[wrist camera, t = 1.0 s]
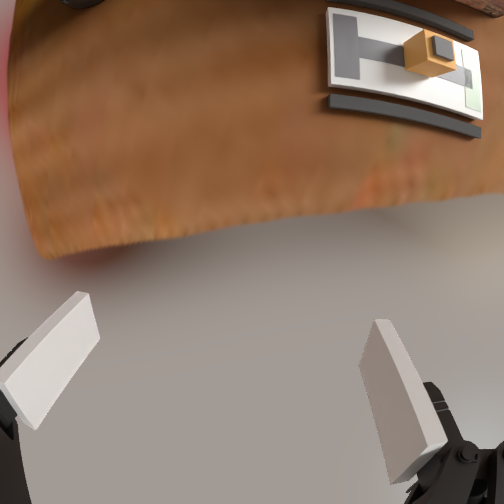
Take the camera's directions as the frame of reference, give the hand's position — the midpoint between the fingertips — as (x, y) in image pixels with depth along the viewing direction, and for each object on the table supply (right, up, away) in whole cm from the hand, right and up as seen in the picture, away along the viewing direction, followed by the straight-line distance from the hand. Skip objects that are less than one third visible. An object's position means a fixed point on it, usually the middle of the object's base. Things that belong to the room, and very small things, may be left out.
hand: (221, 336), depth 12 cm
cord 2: (+22, +21, +18) cm, 35 cm away
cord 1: (+22, +36, +12) cm, 44 cm away
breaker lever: (+22, +27, +13) cm, 37 cm away
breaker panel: (+22, +28, +15) cm, 39 cm away
